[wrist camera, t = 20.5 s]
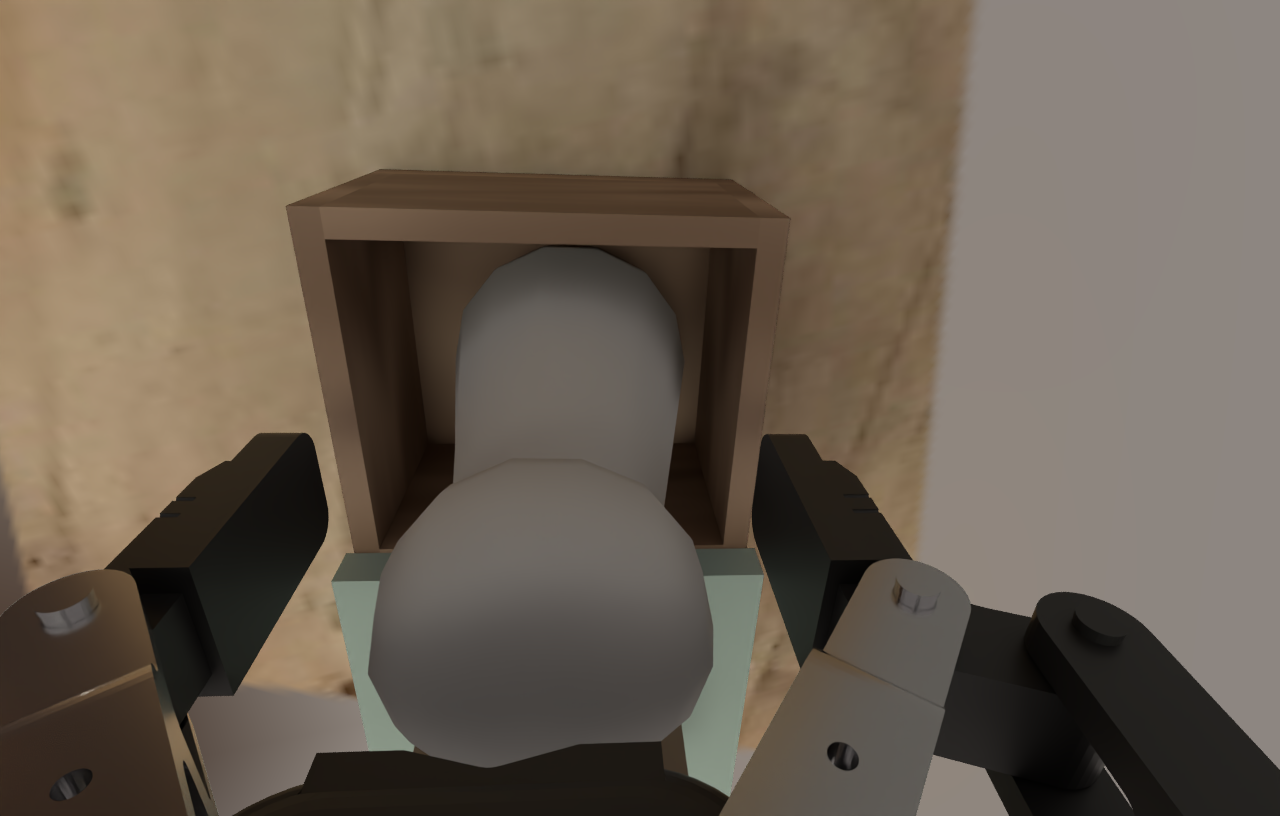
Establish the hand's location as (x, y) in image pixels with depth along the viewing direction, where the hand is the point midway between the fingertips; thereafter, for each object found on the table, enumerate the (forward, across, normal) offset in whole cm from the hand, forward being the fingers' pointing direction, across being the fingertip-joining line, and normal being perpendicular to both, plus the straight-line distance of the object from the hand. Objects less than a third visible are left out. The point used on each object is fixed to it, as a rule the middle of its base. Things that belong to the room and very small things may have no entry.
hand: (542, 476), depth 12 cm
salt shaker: (+8, 0, 0) cm, 8 cm away
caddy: (+9, 0, +4) cm, 10 cm away
